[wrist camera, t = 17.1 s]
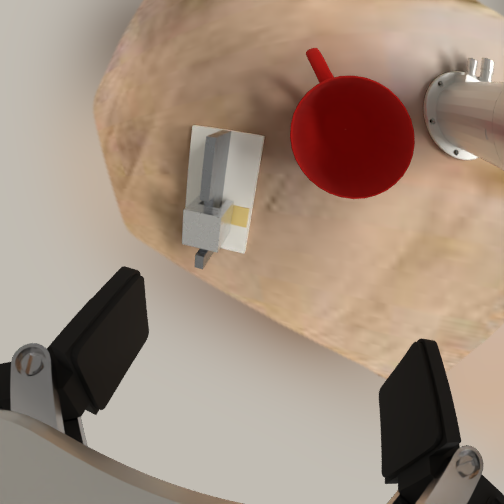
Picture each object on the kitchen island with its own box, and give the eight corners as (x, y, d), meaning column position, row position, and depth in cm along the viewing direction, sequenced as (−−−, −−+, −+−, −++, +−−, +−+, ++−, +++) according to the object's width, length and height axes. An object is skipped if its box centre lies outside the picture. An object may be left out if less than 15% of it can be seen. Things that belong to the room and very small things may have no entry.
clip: (200, 194, 42) (183, 209, 37) (234, 200, 41) (221, 217, 36) (197, 225, 44) (182, 243, 39) (229, 232, 44) (217, 252, 39)
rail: (222, 129, 38) (206, 136, 32) (231, 131, 37) (216, 137, 32) (209, 245, 47) (194, 267, 41) (216, 247, 47) (202, 269, 41)
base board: (195, 125, 39) (191, 125, 38) (265, 135, 38) (263, 137, 37) (186, 236, 48) (183, 239, 47) (245, 250, 47) (243, 254, 46)
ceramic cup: (356, 42, 29) (369, 25, 20) (404, 158, 35) (429, 178, 27) (266, 76, 34) (250, 69, 25) (319, 188, 40) (319, 216, 31)
